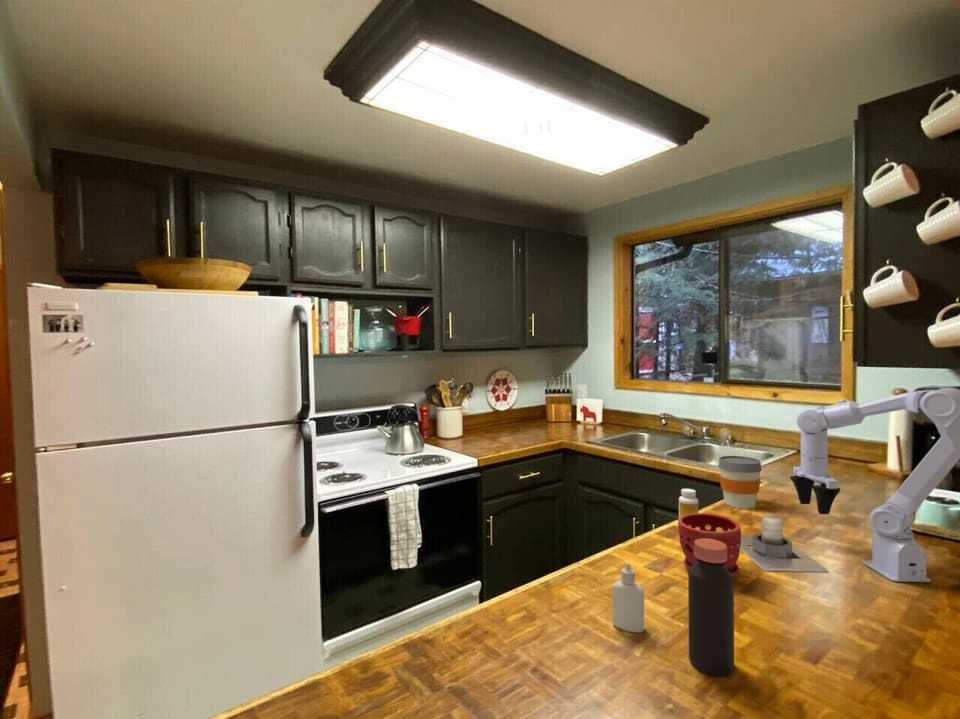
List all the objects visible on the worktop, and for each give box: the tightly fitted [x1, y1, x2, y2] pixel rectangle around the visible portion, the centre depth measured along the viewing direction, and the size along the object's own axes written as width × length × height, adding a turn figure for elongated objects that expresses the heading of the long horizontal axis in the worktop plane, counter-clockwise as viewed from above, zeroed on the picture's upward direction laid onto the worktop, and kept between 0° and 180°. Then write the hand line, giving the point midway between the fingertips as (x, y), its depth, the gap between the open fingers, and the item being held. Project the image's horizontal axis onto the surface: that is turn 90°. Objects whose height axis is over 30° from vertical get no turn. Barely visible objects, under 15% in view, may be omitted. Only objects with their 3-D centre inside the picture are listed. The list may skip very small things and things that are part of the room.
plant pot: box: [677, 512, 742, 579], centre depth 110 cm, size 13×13×12 cm
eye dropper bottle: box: [611, 562, 645, 633], centre depth 89 cm, size 4×6×12 cm
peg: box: [761, 514, 784, 545], centre depth 120 cm, size 4×4×9 cm
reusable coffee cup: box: [718, 455, 762, 510], centre depth 157 cm, size 13×13×15 cm
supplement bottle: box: [678, 488, 699, 519], centre depth 141 cm, size 5×5×10 cm
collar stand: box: [740, 533, 828, 573], centre depth 120 cm, size 20×14×3 cm
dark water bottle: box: [687, 538, 735, 677], centre depth 78 cm, size 7×7×20 cm
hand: (814, 508), depth 122 cm, fingers open, 7 cm apart
